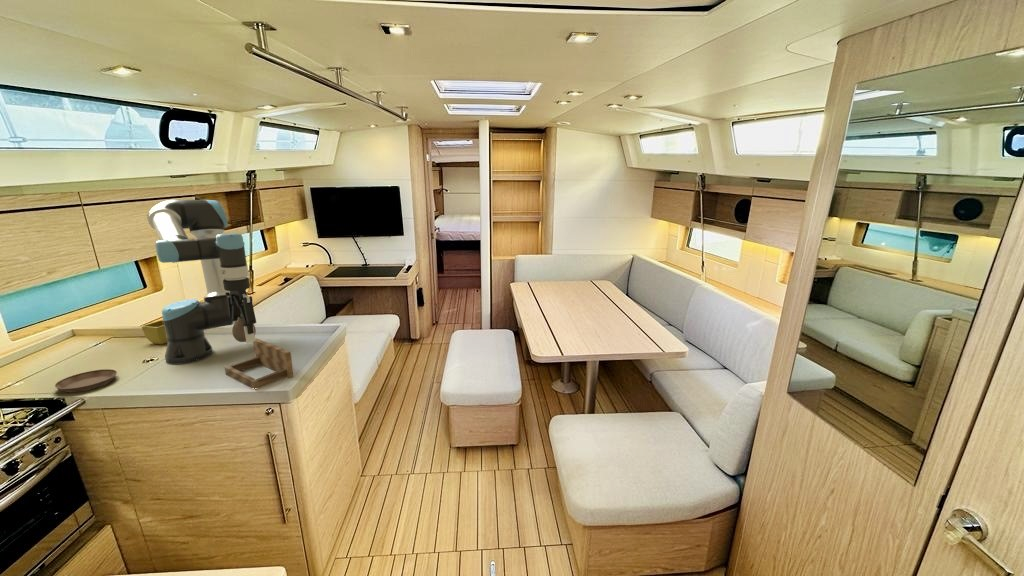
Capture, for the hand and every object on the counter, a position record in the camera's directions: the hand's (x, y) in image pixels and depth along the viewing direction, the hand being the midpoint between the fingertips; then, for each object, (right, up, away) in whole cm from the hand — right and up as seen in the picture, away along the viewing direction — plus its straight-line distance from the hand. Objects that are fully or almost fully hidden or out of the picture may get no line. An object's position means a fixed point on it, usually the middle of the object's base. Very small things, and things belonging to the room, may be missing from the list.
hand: (245, 339), depth 138 cm
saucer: (-53, -16, -4) cm, 55 cm away
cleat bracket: (+1, -14, +6) cm, 15 cm away
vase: (0, 0, 0) cm, 0 cm away
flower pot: (-61, -6, +34) cm, 70 cm away
